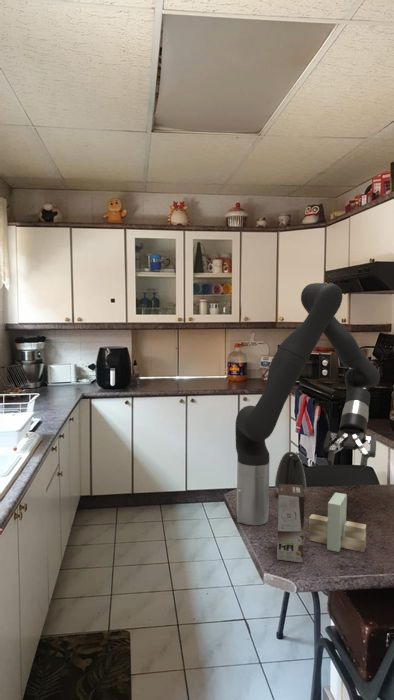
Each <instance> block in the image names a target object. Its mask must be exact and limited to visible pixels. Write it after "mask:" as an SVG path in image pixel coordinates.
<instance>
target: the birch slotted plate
mask: <svg viewBox="0 0 394 700" xmlns="http://www.w3.org/2000/svg"><path fill="white" fill-rule="evenodd" d="M327 526H328V516H324V515H318V514H314V513H311V514H310V516H309V518H308V541H311V542H316V543H319V544H320V543H321V544H324V545H327ZM366 540H367V524H366V523H361V522H360V523H359V522H356V521H355V522H353V521H348V520H346V524H345V532H343V534H342V536H341V548H343V549H348V550H352V551H356V552H360V553H364V552H365V551H366V547H367V546H366V545H367V544H366V543H367V541H366Z"/></svg>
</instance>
